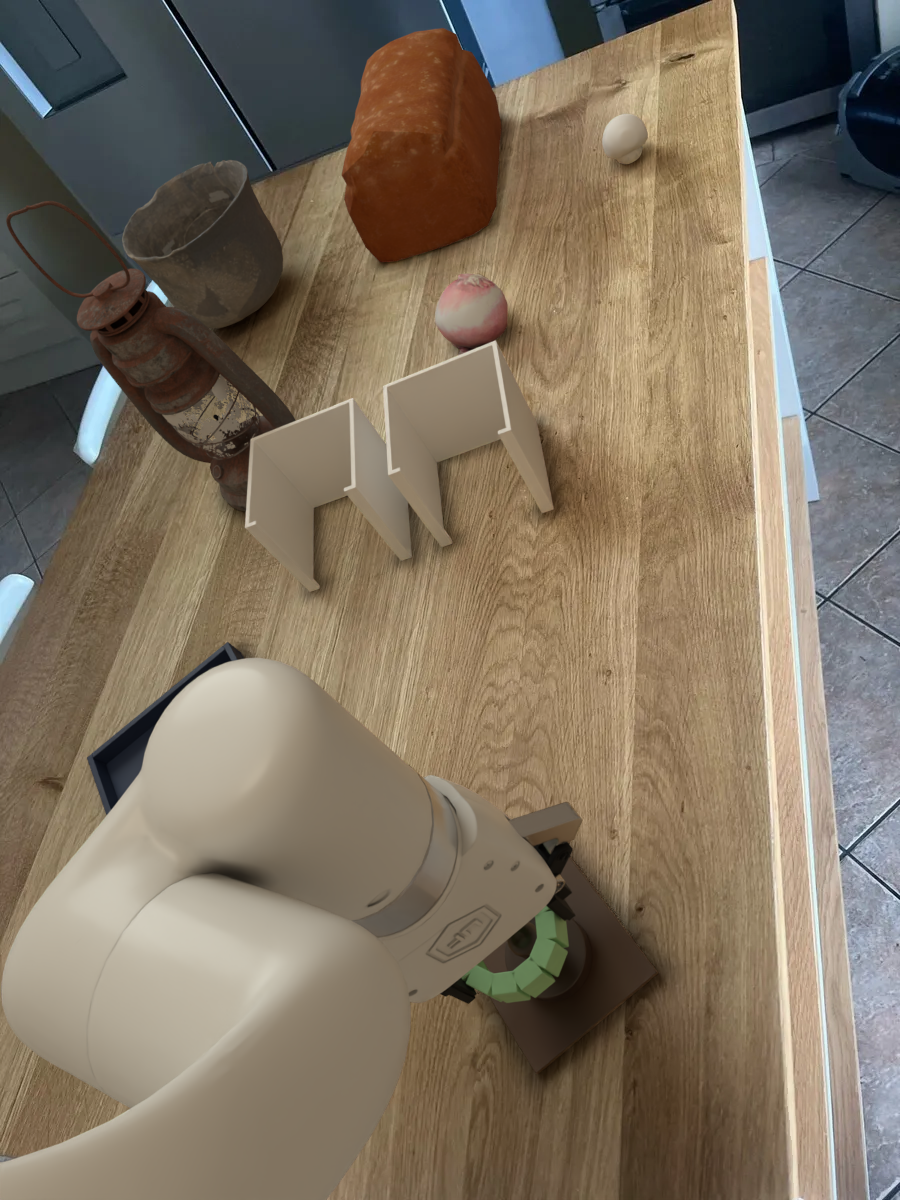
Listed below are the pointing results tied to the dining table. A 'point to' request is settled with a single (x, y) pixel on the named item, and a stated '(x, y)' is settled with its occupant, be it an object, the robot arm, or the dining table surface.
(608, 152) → the mushroom
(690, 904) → the dining table surface
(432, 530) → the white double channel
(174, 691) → the tray
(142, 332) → the lantern
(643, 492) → the dining table surface
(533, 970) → the ring
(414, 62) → the bread
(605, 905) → the stand
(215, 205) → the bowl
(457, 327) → the onion
